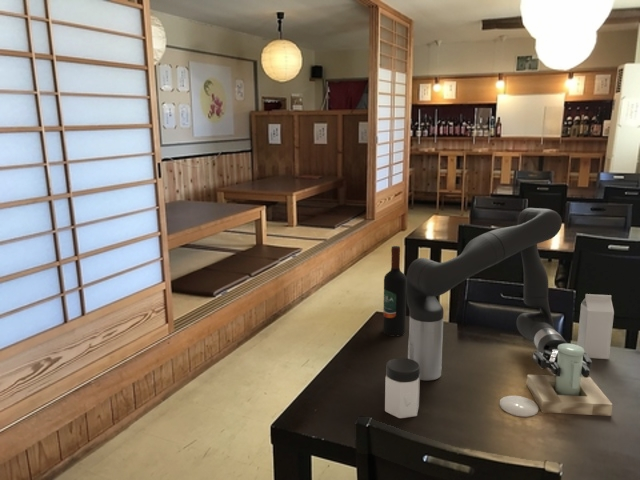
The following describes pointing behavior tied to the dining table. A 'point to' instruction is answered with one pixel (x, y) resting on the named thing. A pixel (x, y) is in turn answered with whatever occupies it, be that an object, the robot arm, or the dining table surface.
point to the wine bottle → (394, 297)
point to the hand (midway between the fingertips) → (572, 373)
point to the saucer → (519, 406)
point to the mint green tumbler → (569, 369)
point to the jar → (402, 387)
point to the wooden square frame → (568, 397)
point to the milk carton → (596, 325)
